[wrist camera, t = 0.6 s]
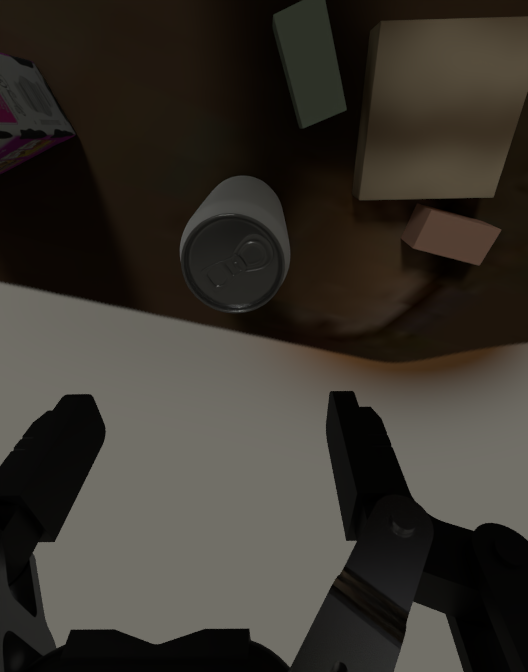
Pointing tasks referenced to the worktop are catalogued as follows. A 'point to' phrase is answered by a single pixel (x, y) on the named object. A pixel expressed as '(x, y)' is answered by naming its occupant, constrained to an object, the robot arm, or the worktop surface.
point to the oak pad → (440, 107)
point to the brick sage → (309, 61)
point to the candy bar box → (27, 113)
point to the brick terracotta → (449, 234)
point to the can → (236, 246)
